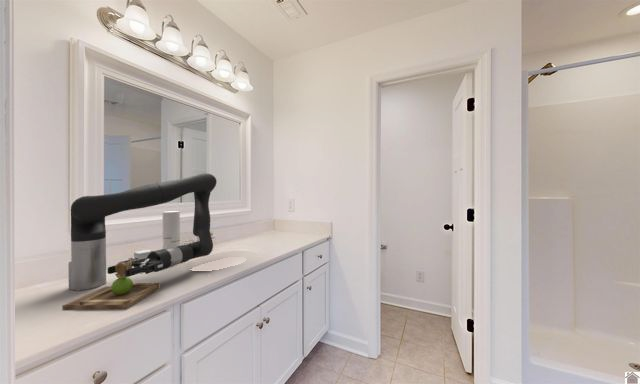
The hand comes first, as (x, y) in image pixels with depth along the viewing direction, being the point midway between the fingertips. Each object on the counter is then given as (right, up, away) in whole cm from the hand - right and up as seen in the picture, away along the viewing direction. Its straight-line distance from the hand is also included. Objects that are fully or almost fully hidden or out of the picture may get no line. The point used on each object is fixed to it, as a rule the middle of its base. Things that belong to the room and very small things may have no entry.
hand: (116, 272), depth 75 cm
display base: (-2, -9, +2) cm, 9 cm away
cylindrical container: (-8, -9, +41) cm, 42 cm away
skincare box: (-17, -9, +34) cm, 40 cm away
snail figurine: (+1, -8, +2) cm, 8 cm away
